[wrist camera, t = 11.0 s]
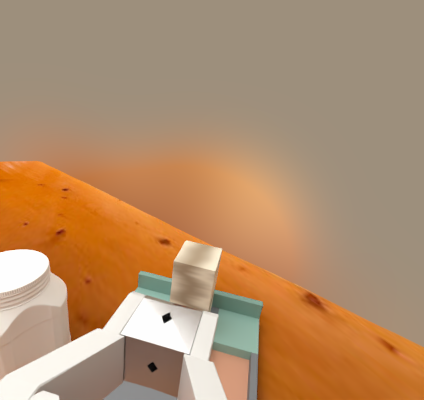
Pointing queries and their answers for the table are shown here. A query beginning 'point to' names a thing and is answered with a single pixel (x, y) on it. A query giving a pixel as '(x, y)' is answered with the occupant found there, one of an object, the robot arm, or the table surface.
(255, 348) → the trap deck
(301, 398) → the table surface
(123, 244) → the table surface
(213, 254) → the maple block
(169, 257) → the table surface
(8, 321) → the jar
